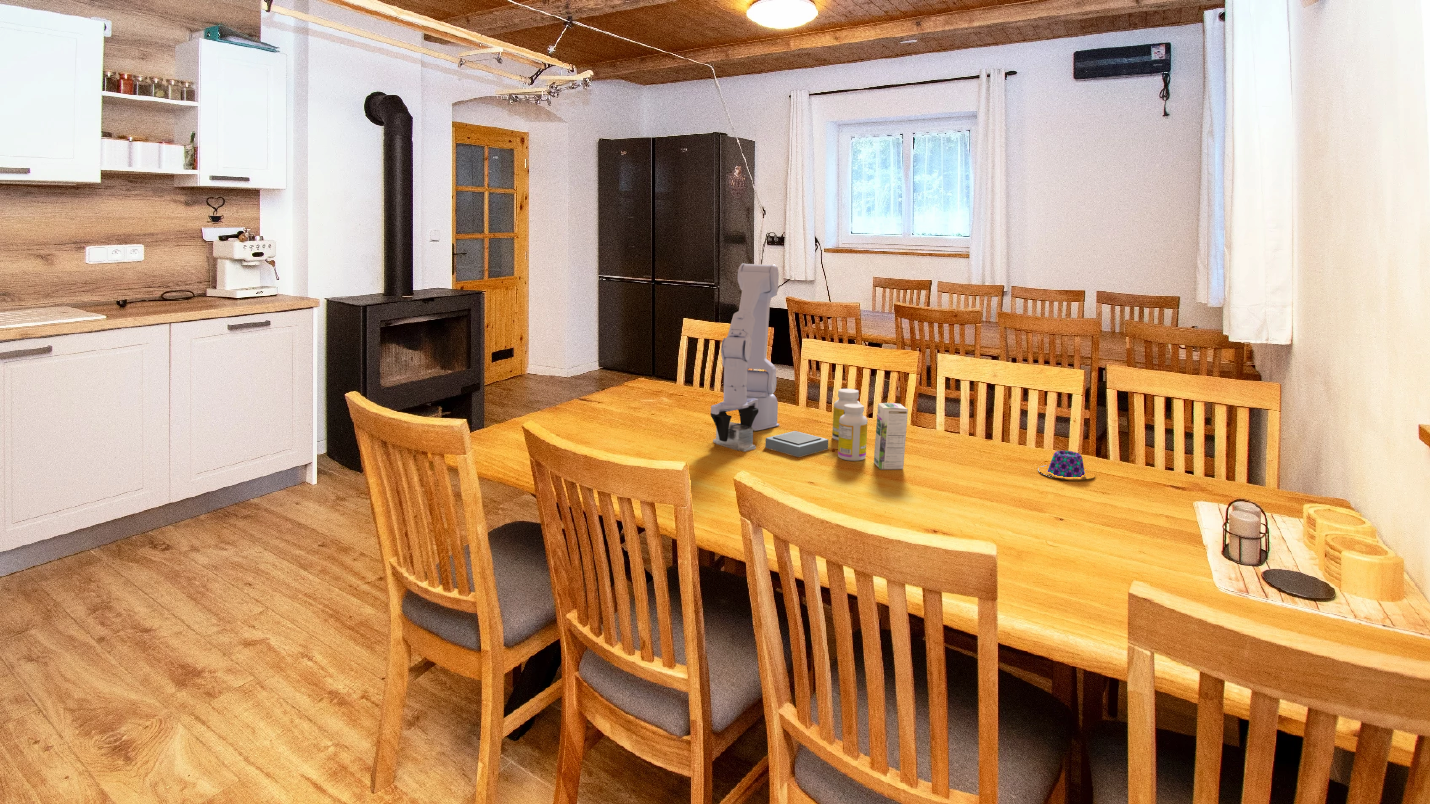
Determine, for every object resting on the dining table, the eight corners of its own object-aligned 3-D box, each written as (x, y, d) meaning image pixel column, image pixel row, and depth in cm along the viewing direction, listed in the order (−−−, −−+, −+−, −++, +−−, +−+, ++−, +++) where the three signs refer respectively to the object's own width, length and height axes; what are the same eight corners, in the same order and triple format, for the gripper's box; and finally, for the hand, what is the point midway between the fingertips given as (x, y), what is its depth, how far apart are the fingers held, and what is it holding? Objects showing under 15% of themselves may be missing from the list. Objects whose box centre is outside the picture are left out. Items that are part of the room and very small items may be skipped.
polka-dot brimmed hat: (1031, 466, 197) (1033, 445, 196) (1083, 468, 196) (1086, 447, 195) (1046, 482, 186) (1048, 459, 185) (1102, 484, 185) (1105, 462, 184)
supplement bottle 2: (862, 453, 205) (865, 402, 202) (868, 461, 198) (871, 408, 196) (835, 453, 205) (837, 402, 202) (840, 461, 198) (842, 408, 195)
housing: (725, 439, 216) (726, 418, 215) (757, 448, 208) (757, 427, 207) (711, 442, 213) (712, 421, 212) (742, 452, 205) (743, 430, 204)
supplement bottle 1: (841, 443, 214) (844, 394, 211) (826, 436, 220) (829, 388, 218) (865, 440, 217) (867, 392, 214) (849, 434, 223) (852, 386, 221)
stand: (794, 440, 216) (795, 429, 216) (828, 449, 209) (828, 438, 208) (765, 447, 209) (765, 436, 208) (798, 457, 201) (799, 445, 201)
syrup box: (872, 462, 198) (876, 402, 194) (897, 462, 198) (901, 402, 195) (879, 469, 192) (883, 408, 189) (904, 469, 193) (908, 408, 189)
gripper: (725, 391, 200) (724, 446, 203) (767, 383, 209) (765, 436, 212) (705, 386, 205) (704, 440, 208) (747, 379, 214) (746, 431, 217)
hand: (734, 438), depth 210 cm, fingers open, 7 cm apart
